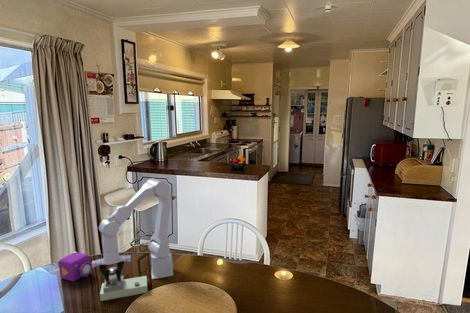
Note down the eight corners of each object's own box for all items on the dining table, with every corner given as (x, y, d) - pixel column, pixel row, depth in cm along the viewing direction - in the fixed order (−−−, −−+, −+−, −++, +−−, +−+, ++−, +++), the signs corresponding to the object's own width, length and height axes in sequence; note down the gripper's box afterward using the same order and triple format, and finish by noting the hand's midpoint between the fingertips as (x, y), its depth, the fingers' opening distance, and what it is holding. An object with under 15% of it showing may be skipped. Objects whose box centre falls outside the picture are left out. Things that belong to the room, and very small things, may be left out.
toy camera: (83, 284, 133) (81, 263, 131) (56, 281, 136) (54, 260, 134) (99, 271, 143) (97, 251, 142) (73, 268, 146) (71, 249, 144)
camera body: (147, 281, 134) (146, 271, 133) (147, 292, 126) (146, 281, 125) (102, 289, 129) (101, 278, 128) (100, 301, 121) (99, 289, 120)
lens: (119, 279, 128) (118, 266, 127) (118, 284, 124) (117, 271, 123) (108, 280, 127) (107, 267, 126) (107, 286, 123) (106, 273, 122)
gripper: (129, 242, 129) (132, 271, 131) (92, 247, 125) (95, 277, 127) (129, 249, 122) (131, 280, 124) (89, 255, 118) (93, 287, 120)
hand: (113, 279), depth 125 cm, fingers closed on lens, 4 cm apart
